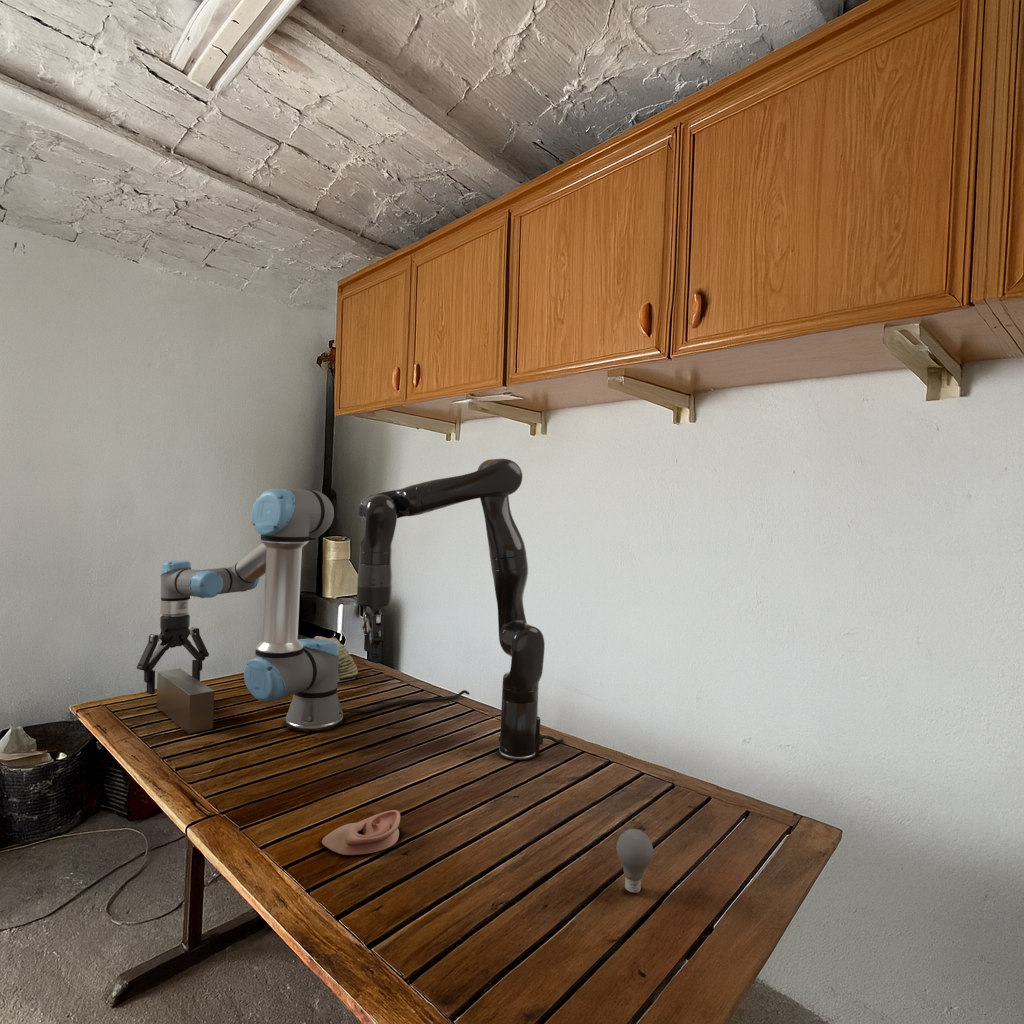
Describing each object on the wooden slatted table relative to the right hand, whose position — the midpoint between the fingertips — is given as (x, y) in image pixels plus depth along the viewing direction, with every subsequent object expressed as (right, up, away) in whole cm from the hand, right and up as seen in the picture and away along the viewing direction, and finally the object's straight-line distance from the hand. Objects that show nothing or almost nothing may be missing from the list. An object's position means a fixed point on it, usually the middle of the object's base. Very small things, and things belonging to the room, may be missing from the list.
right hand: (371, 655), depth 142 cm
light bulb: (+52, -31, -37) cm, 71 cm away
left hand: (-66, -19, +41) cm, 80 cm away
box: (-60, -25, +34) cm, 73 cm away
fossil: (-31, -26, +75) cm, 85 cm away
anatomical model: (+3, -29, -25) cm, 38 cm away
